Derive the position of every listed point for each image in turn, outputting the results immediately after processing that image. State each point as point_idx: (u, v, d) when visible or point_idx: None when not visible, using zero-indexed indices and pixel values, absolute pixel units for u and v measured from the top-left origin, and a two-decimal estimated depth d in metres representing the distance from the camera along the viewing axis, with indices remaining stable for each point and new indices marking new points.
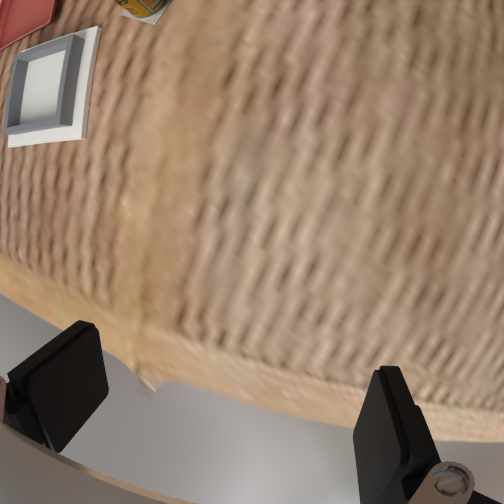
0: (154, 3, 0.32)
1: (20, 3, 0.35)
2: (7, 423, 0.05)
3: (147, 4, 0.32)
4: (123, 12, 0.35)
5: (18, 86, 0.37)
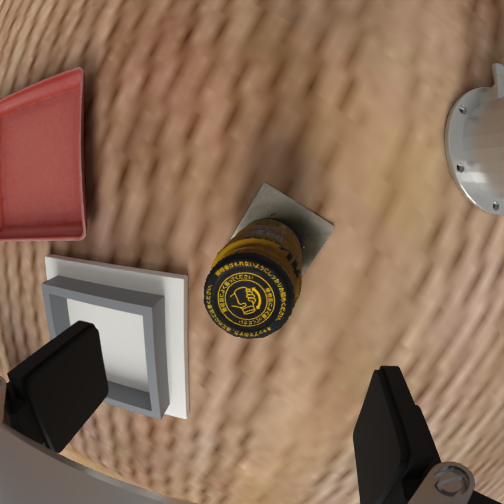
0: None
1: (14, 144, 0.30)
2: (7, 423, 0.05)
3: None
4: None
5: (62, 326, 0.32)
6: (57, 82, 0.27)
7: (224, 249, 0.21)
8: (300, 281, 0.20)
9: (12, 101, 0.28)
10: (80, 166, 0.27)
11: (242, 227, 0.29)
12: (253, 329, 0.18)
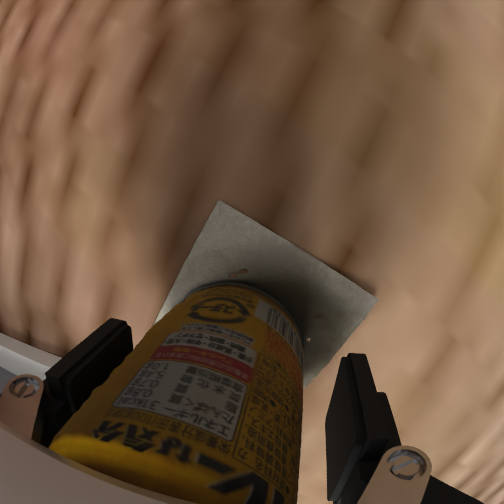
0: None
1: None
2: (38, 427, 0.05)
3: None
4: None
5: None
6: None
7: (56, 444, 0.05)
8: None
9: None
10: None
11: (177, 297, 0.14)
12: None
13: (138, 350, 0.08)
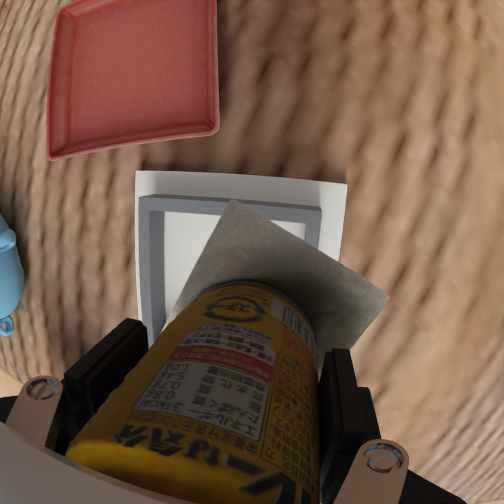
0: None
1: (97, 45, 0.25)
2: (54, 430, 0.05)
3: None
4: None
5: (157, 263, 0.27)
6: None
7: (73, 450, 0.05)
8: None
9: None
10: (216, 49, 0.22)
11: (189, 296, 0.13)
12: None
13: (155, 351, 0.08)
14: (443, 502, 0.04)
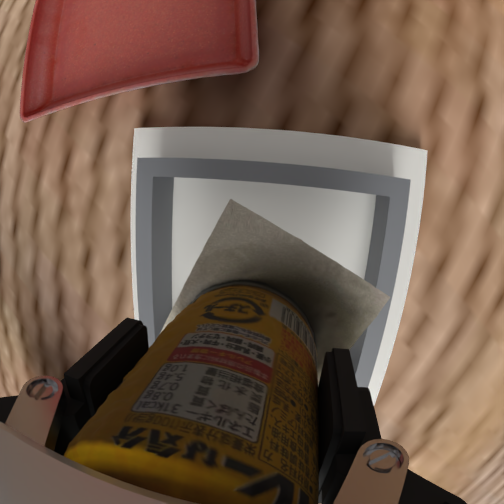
0: None
1: None
2: (54, 430, 0.05)
3: None
4: None
5: (162, 257, 0.19)
6: None
7: (72, 451, 0.05)
8: None
9: None
10: None
11: (188, 297, 0.13)
12: None
13: (153, 352, 0.08)
14: (443, 502, 0.04)
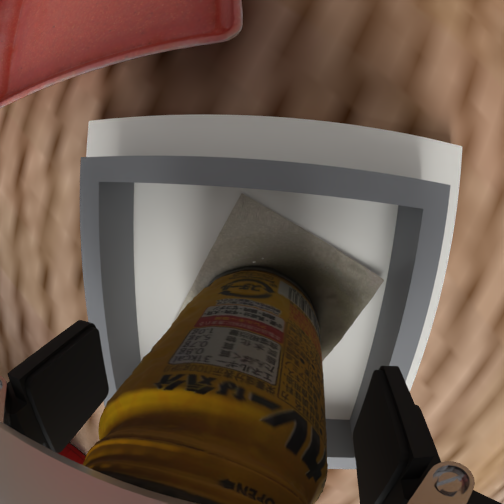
0: None
1: None
2: (7, 423, 0.05)
3: None
4: None
5: (120, 284, 0.14)
6: None
7: (114, 404, 0.06)
8: (324, 478, 0.06)
9: None
10: None
11: (203, 282, 0.15)
12: None
13: (180, 322, 0.09)
14: None
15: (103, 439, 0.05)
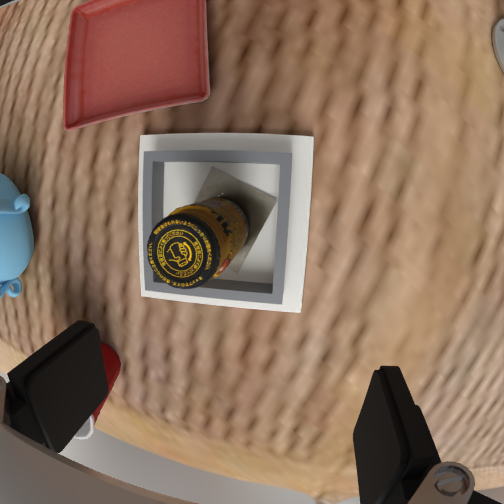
0: None
1: (107, 38, 0.30)
2: (7, 423, 0.05)
3: None
4: None
5: (157, 208, 0.32)
6: None
7: None
8: (231, 240, 0.24)
9: (108, 0, 0.28)
10: (206, 36, 0.27)
11: None
12: (188, 279, 0.22)
13: None
14: None
15: None
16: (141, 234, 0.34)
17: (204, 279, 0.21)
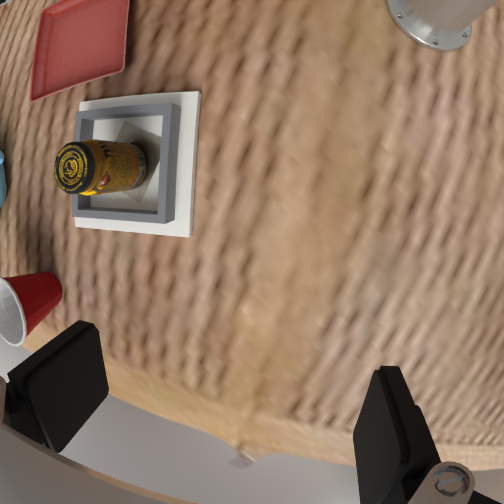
0: (135, 181, 0.37)
1: (65, 32, 0.35)
2: (7, 423, 0.05)
3: (128, 186, 0.36)
4: None
5: None
6: None
7: None
8: (110, 161, 0.29)
9: (67, 3, 0.33)
10: (126, 25, 0.33)
11: None
12: (74, 185, 0.27)
13: None
14: None
15: None
16: None
17: (83, 184, 0.27)
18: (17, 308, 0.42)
